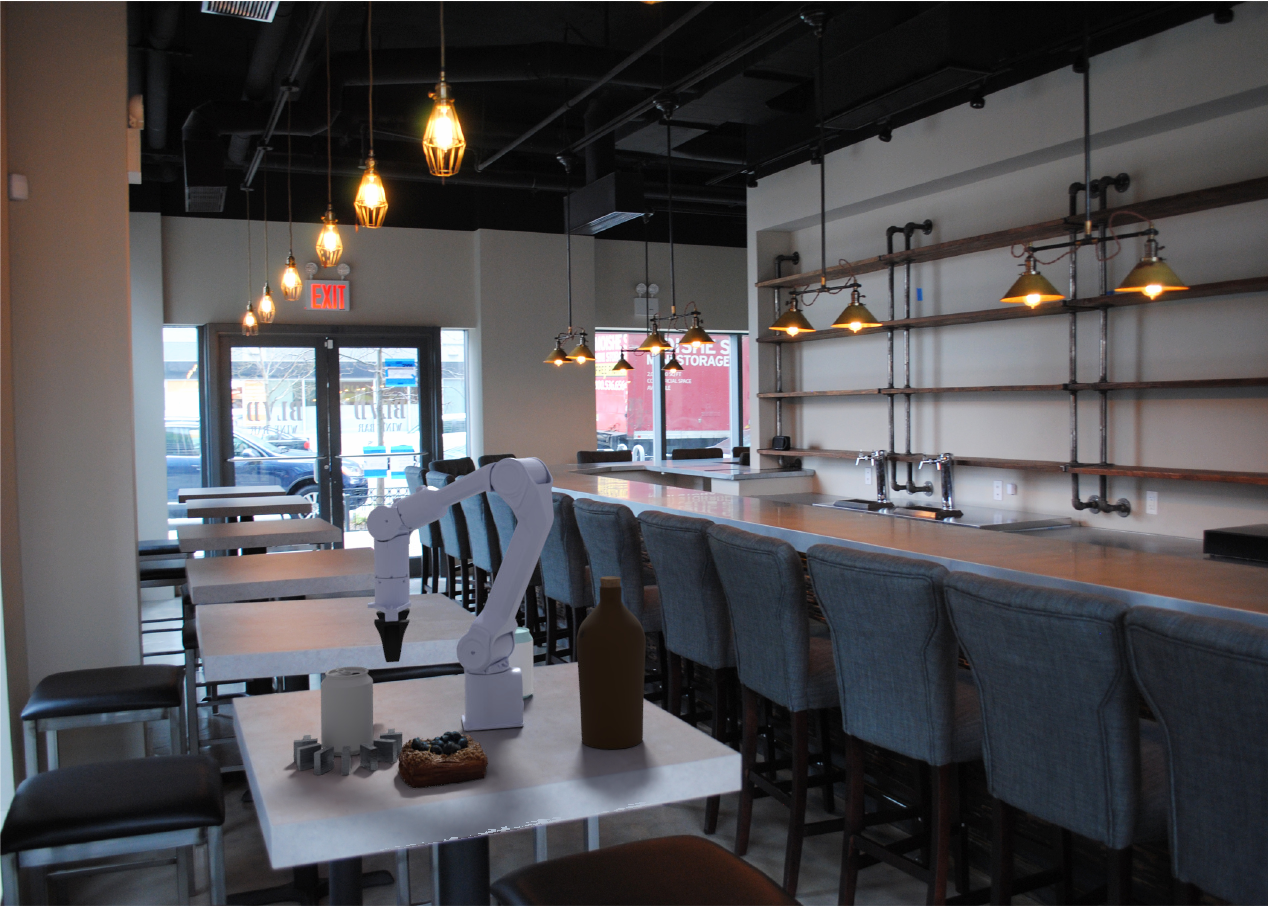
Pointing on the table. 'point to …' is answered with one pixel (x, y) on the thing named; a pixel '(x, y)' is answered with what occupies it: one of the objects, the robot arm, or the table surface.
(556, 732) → the table surface
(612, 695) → the olive oil
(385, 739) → the ring collar
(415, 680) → the table surface
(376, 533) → the robot arm
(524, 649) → the can
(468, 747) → the pastry
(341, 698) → the can
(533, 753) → the table surface
